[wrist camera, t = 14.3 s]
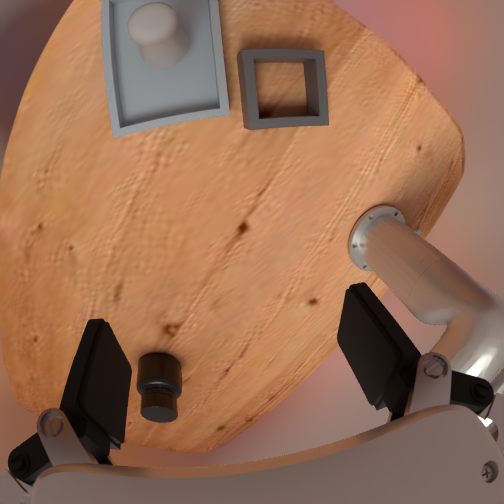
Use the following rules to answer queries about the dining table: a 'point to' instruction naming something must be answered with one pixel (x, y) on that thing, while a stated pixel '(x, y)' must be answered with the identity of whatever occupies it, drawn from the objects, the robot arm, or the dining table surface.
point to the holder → (313, 83)
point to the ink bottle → (159, 387)
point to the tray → (163, 70)
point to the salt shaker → (158, 35)
